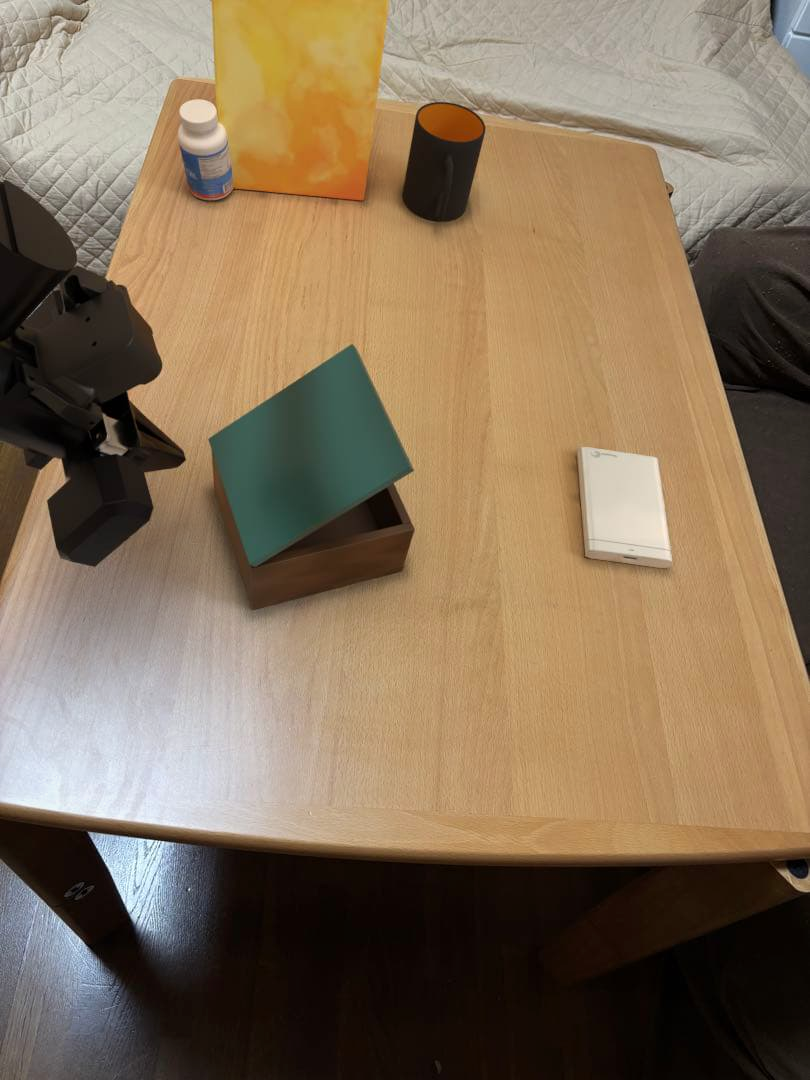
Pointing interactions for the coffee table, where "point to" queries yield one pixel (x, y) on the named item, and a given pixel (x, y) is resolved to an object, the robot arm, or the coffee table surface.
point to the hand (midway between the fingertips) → (181, 459)
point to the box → (326, 550)
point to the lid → (307, 456)
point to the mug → (442, 160)
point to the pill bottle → (205, 151)
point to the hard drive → (623, 508)
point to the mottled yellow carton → (299, 92)
